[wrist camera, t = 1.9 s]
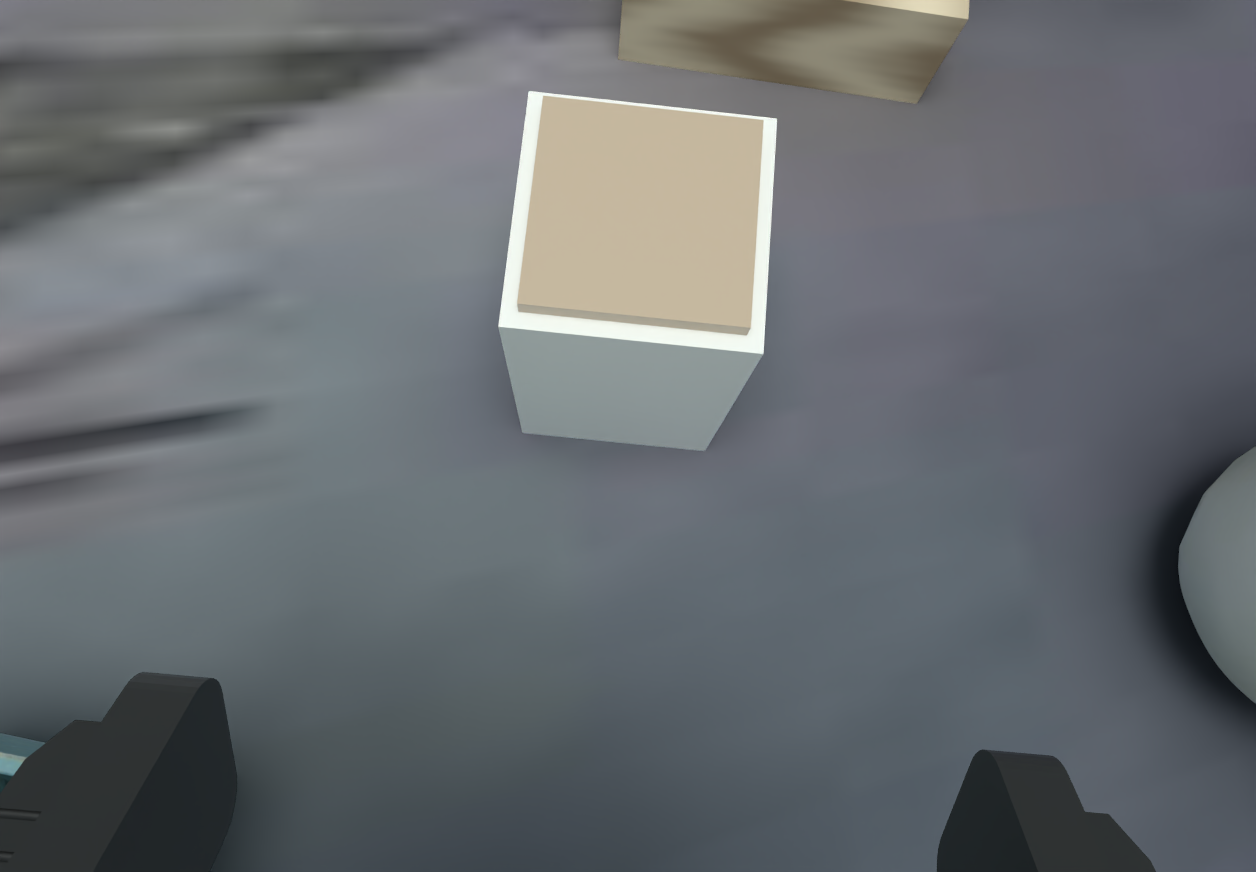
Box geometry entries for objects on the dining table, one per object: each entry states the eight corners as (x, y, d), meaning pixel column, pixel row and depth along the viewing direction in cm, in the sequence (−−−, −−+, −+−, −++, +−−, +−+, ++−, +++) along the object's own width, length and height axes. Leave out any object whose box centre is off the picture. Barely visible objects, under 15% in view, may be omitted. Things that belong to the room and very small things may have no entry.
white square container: (522, 433, 31) (496, 318, 21) (542, 263, 32) (527, 78, 22) (704, 450, 31) (767, 346, 21) (717, 281, 33) (781, 106, 22)
